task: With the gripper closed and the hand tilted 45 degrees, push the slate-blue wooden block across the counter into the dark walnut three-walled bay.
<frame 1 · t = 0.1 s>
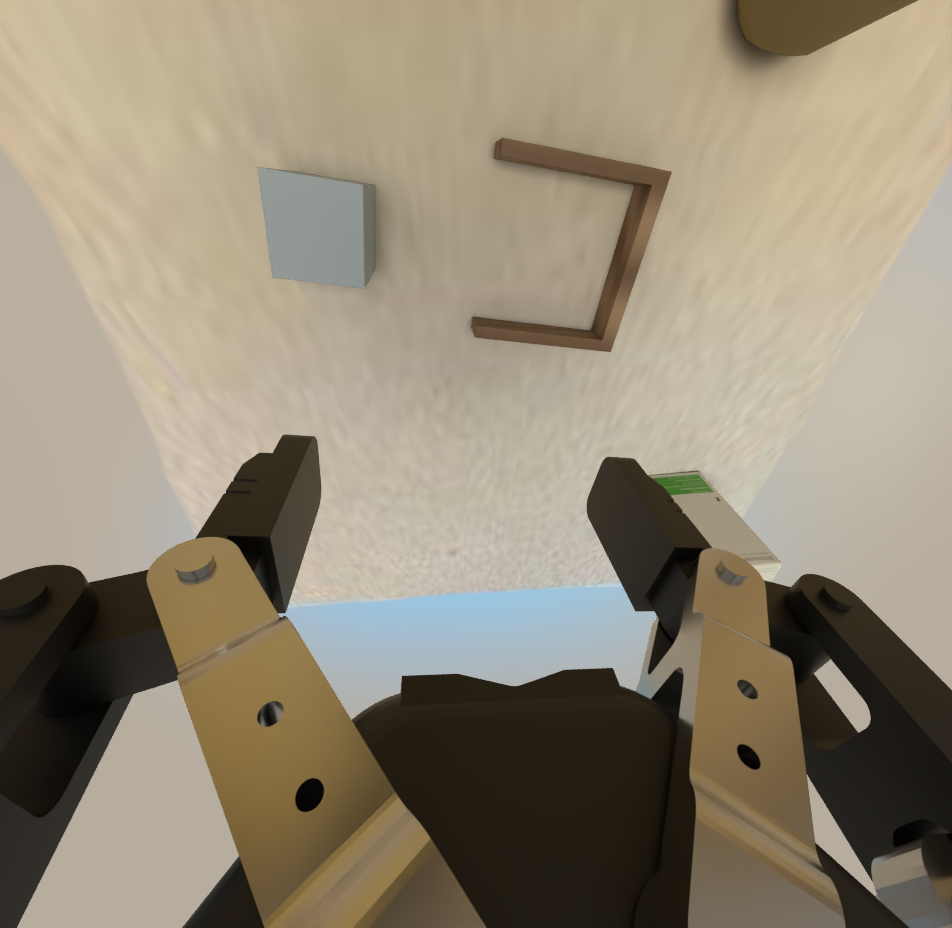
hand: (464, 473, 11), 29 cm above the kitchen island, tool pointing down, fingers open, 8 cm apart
skincare box: (661, 491, 54), on the kitchen island
slate block: (336, 223, 32), on the kitchen island
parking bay: (548, 255, 35), on the kitchen island
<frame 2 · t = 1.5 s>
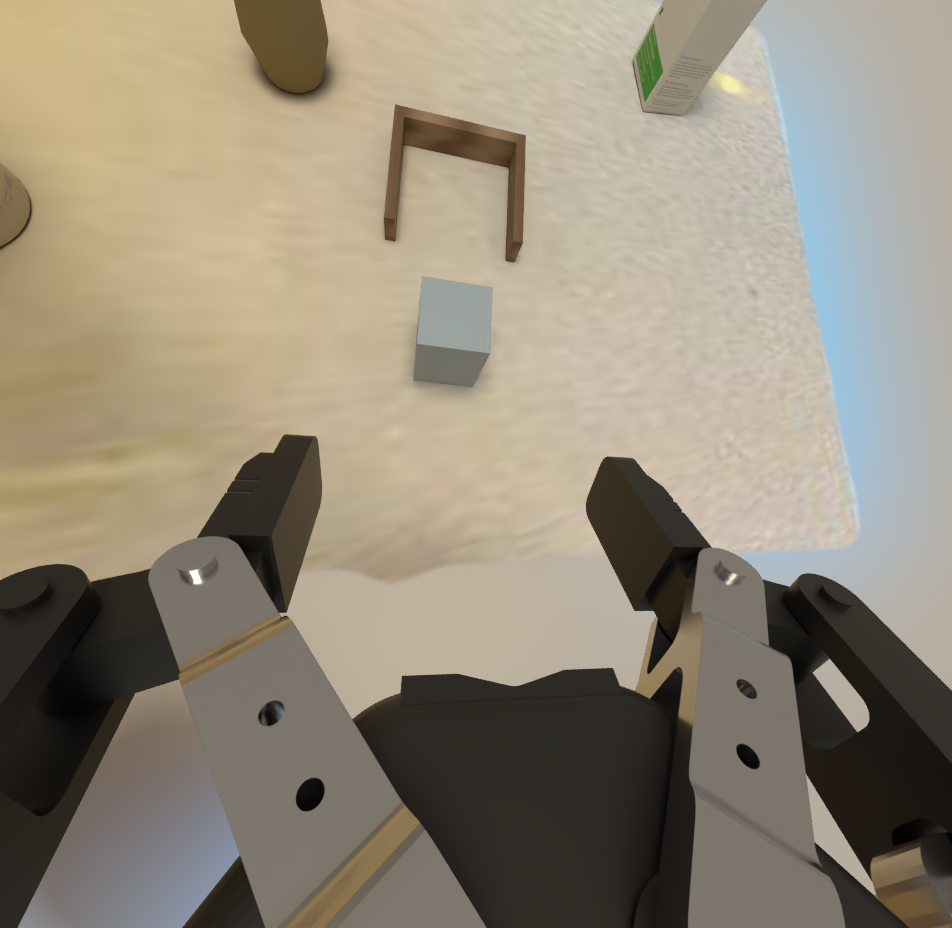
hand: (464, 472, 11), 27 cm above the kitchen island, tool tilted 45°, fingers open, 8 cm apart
squeeze bottle: (294, 74, 42), on the kitchen island
skincare box: (658, 91, 52), on the kitchen island
slate block: (445, 355, 40), on the kitchen island
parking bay: (454, 202, 43), on the kitchen island
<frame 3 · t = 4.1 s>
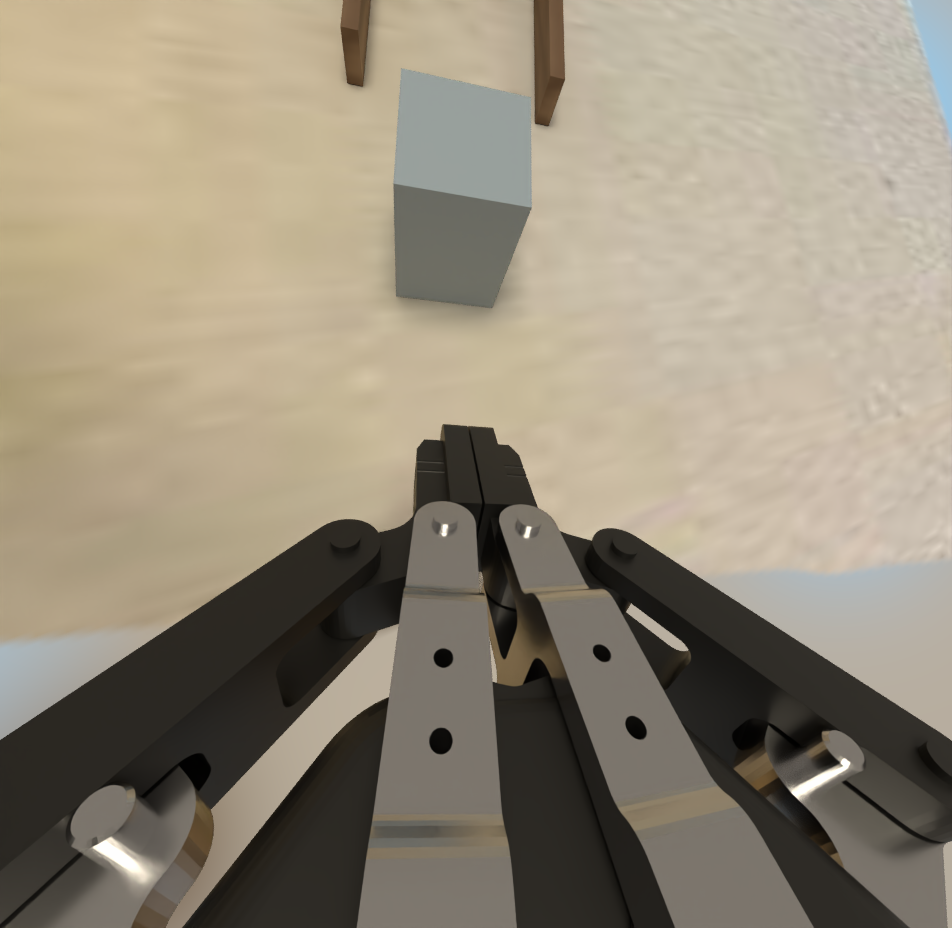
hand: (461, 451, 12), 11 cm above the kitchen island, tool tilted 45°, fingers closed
slate block: (446, 259, 25), on the kitchen island
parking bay: (454, 37, 28), on the kitchen island
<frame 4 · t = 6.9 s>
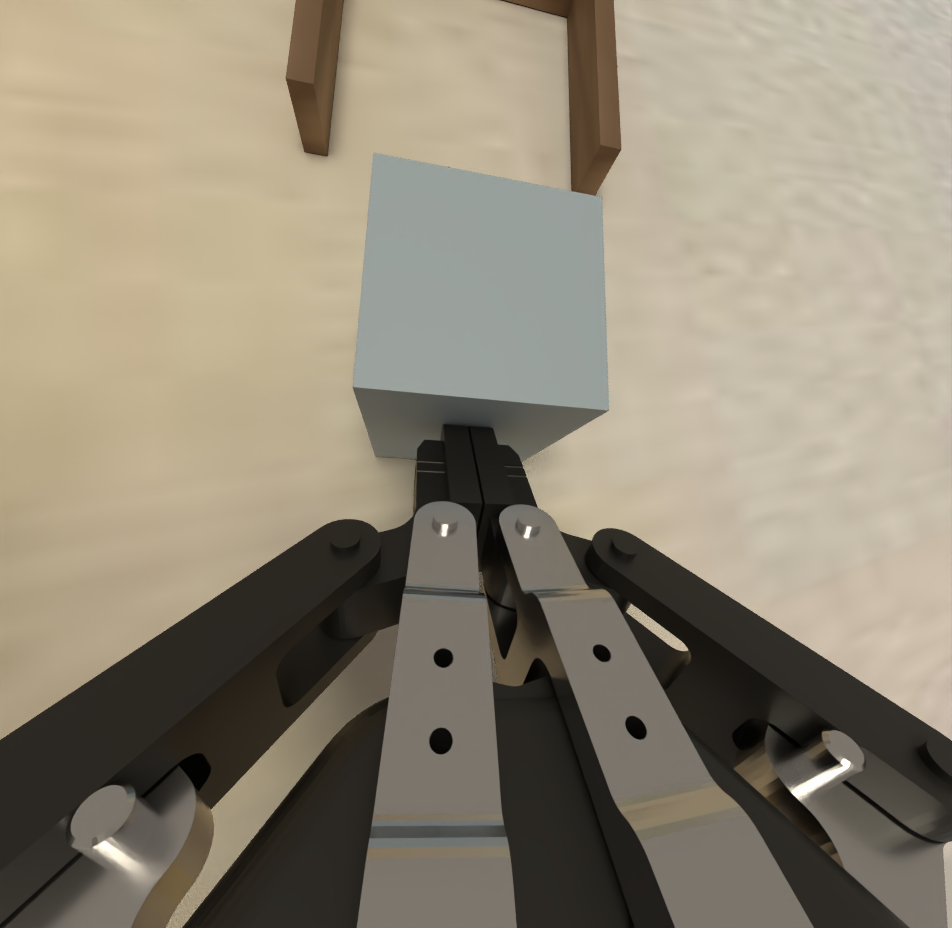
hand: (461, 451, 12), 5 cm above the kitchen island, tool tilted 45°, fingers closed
slate block: (450, 393, 17), on the kitchen island
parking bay: (459, 79, 20), on the kitchen island
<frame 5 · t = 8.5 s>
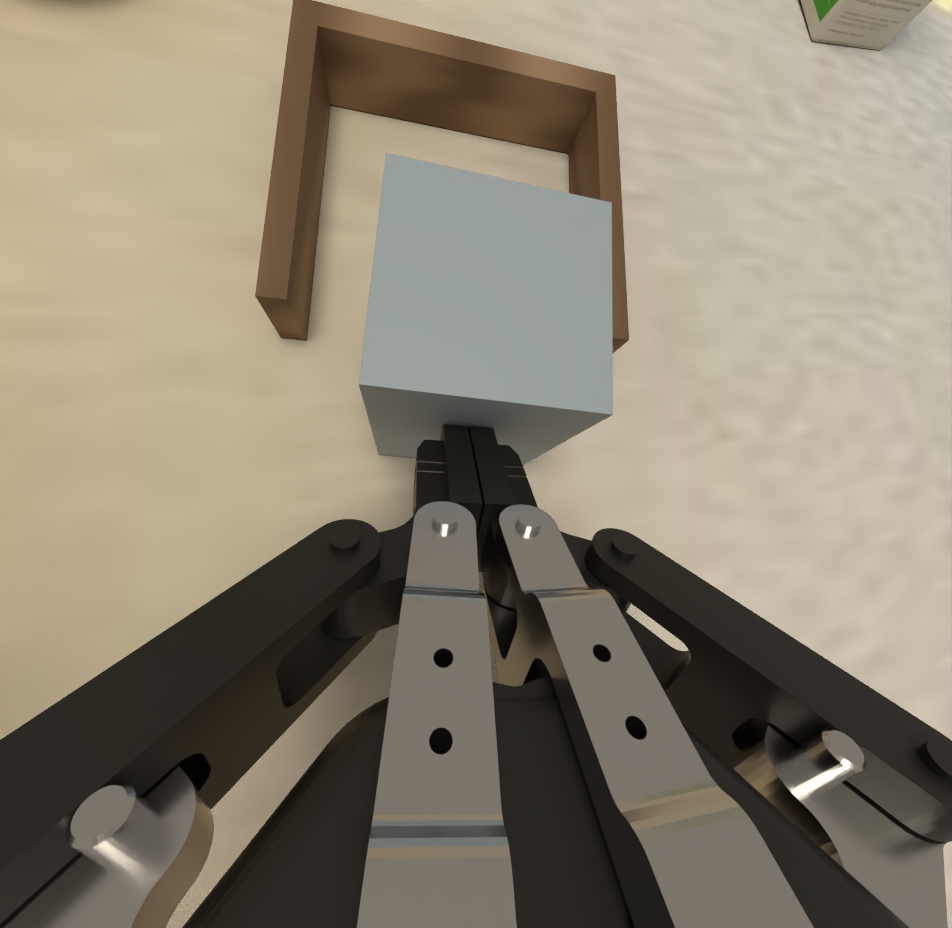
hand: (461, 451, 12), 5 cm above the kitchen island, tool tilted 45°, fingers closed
skincare box: (830, 5, 28), on the kitchen island
slate block: (455, 394, 17), on the kitchen island, touching gripper
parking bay: (452, 236, 19), on the kitchen island
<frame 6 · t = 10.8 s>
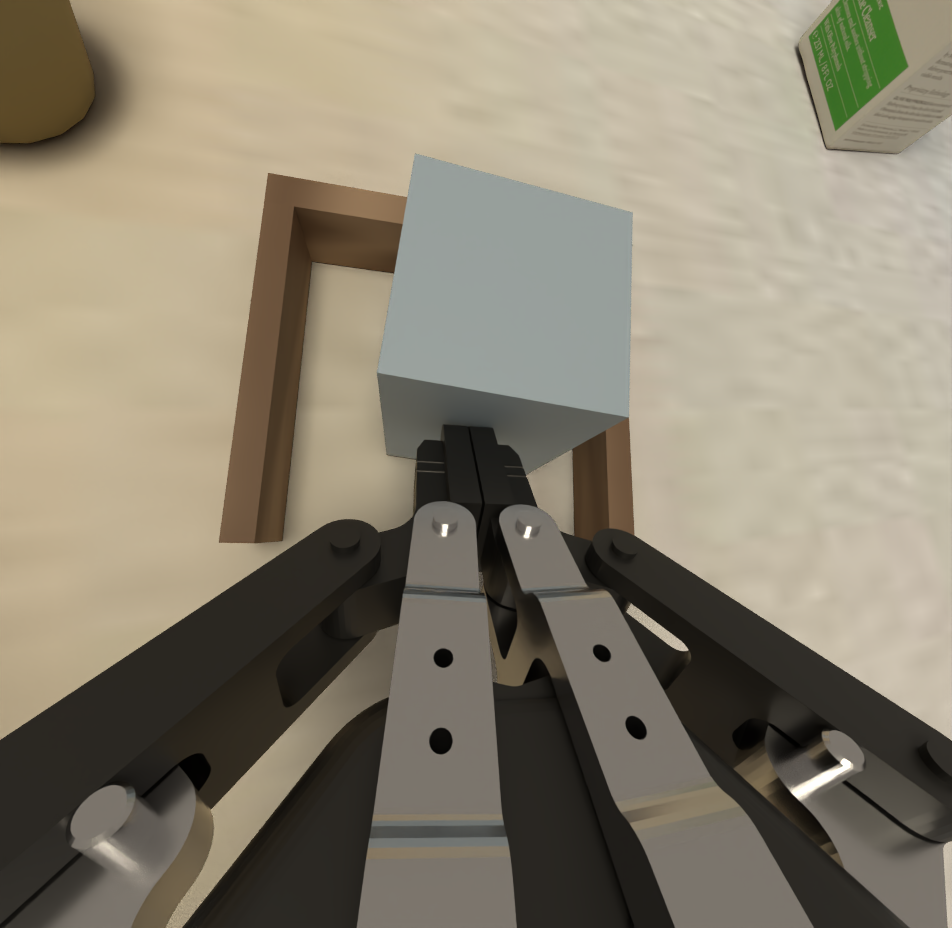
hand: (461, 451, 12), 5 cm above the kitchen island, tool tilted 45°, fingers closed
squeeze bottle: (20, 92, 16), on the kitchen island
skincare box: (845, 105, 26), on the kitchen island
slate block: (465, 399, 17), on the kitchen island, touching gripper
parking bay: (443, 404, 17), on the kitchen island
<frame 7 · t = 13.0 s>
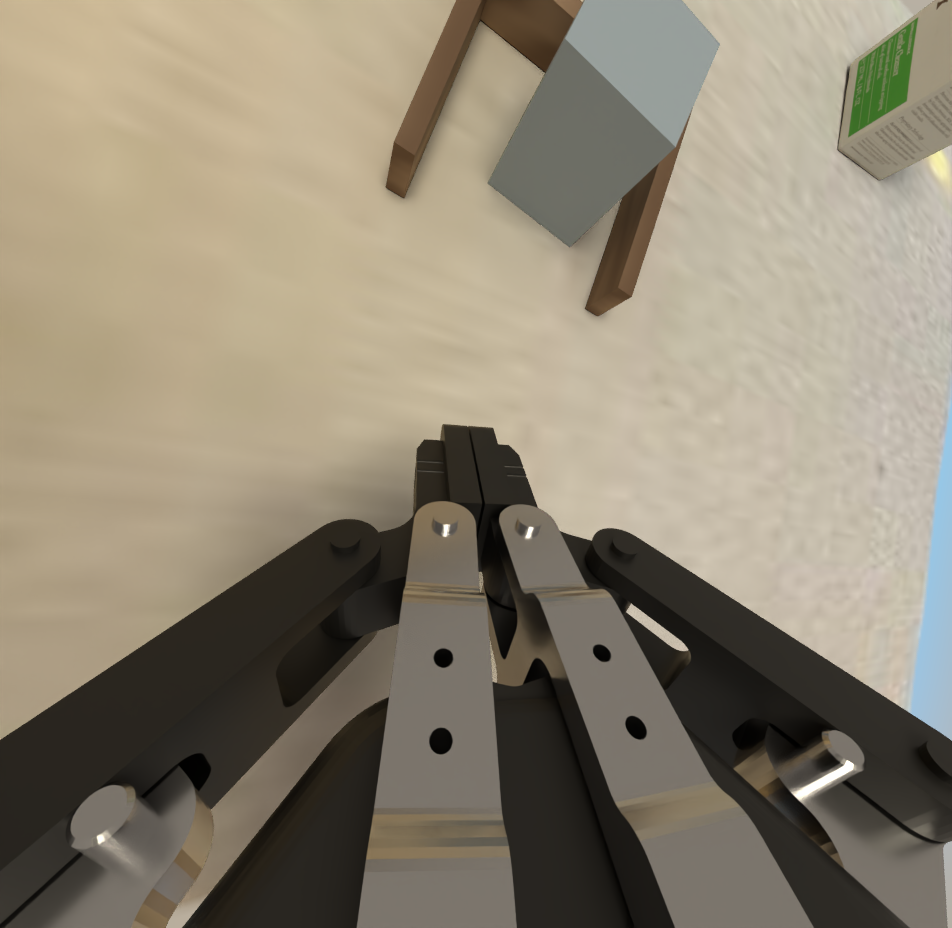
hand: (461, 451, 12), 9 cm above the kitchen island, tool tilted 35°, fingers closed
skincare box: (861, 129, 35), on the kitchen island
slate block: (549, 177, 24), on the kitchen island
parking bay: (535, 170, 23), on the kitchen island
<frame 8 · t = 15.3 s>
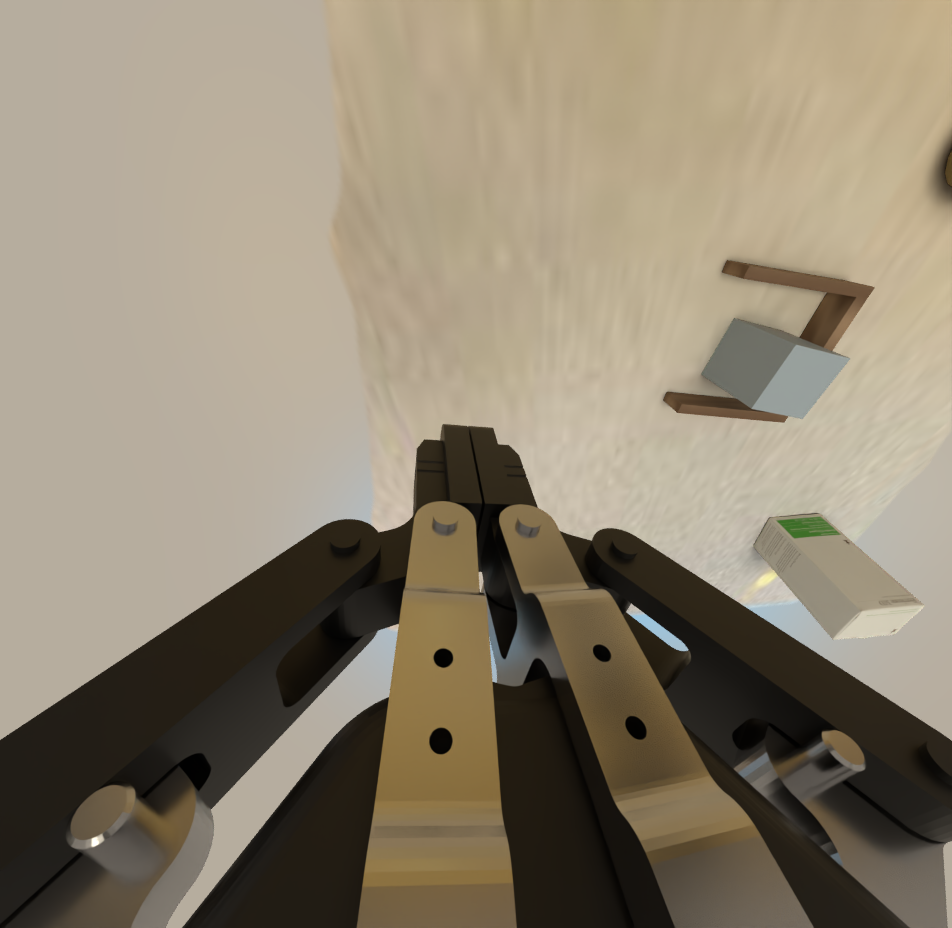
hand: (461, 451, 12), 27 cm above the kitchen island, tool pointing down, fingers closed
skincare box: (782, 529, 59), on the kitchen island
slate block: (740, 352, 41), on the kitchen island
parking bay: (743, 343, 41), on the kitchen island
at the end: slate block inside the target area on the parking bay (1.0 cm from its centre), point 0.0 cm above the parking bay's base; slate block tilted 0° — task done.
